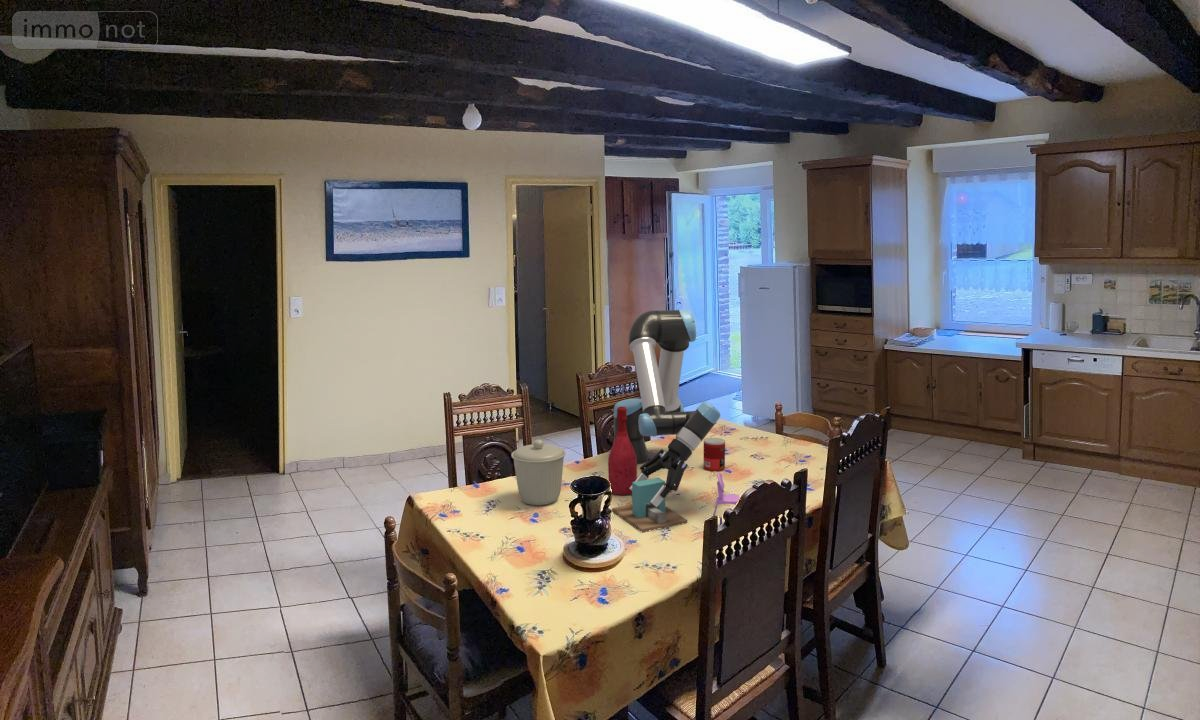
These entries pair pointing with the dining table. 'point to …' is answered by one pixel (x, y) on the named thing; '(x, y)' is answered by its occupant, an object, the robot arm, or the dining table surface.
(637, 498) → the clip
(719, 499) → the toy chair
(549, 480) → the canister
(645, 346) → the robot arm
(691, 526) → the dining table surface
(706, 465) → the canned food
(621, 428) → the wine bottle
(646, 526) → the rail board
